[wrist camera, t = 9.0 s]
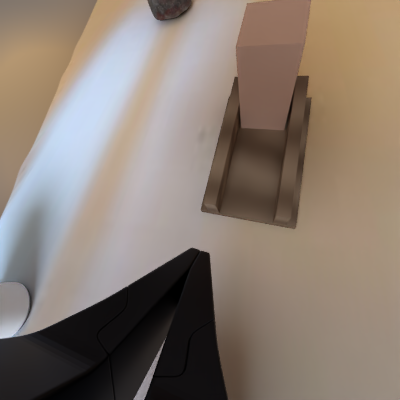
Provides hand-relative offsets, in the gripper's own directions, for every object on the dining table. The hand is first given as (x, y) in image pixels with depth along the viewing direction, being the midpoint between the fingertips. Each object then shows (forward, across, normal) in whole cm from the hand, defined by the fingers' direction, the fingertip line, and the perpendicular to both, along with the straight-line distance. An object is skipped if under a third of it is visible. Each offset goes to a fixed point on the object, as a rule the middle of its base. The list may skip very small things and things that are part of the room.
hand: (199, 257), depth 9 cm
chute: (+19, -1, -1) cm, 19 cm away
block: (+22, -1, -6) cm, 23 cm away
